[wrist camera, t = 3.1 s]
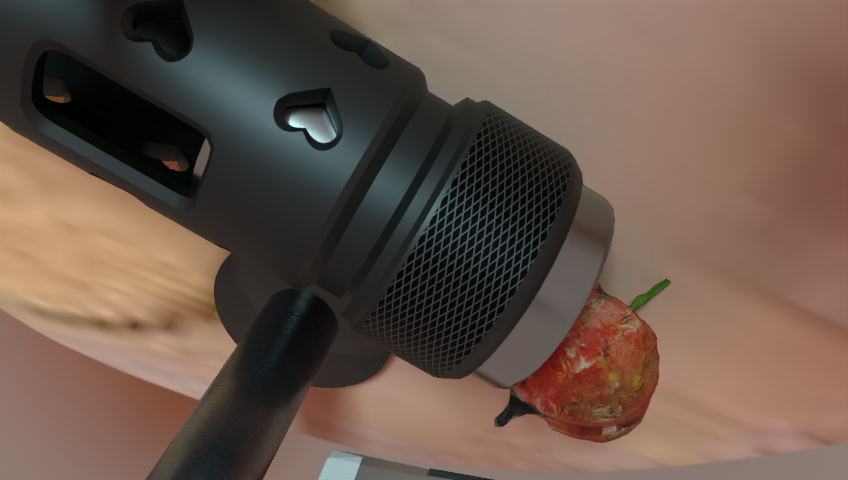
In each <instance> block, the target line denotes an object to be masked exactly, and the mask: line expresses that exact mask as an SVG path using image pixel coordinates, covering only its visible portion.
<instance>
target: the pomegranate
mask: <svg viewBox="0 0 848 480" xmlns="http://www.w3.org/2000/svg"><path fill="white" fill-rule="evenodd" d="M670 283H671V281H669V280H667V279H665V280H664V281H662V282H660V283H659V284H657V285H655V286H654V287H653V288H652V289H651V290H650V291H649V292H648V293H646V294H642V295H639V296H637V297H636V298H635V300H634V301H633V303H632V305H631V306H627V305H626V304H624V303H622V302H621V301H620V300H618V299H617V298H615V297H612V296H610V295H608V294H607V293H605V292H604V291H603V290H602V288H601V287H600V284H599V282H598V281H597V282H596V285H595V287H594V289H593V291H592V293H591V295H590V297H589V299H588V301H587V302H586V304H585V306H584V308H583V310H582V311H581V313H580V315H579V317H578V318H577V320H576V321H575V323H574V324H573V326H572V327H571V329H570V331H569V332H568V334H567V335H566V336H565V338H564V339H563V340H562V342H561V343H560V344H559V346H558V347H557V348H556V350H555V351H554V352H553V353H552V355H551V356H550V357H549V358H548V359H547V360H546V361H545V362H544V364H543V365H542V366H541V367H540V368H539V369H538V370H537V371H536V372H535V373H533V374H532V375H531V376H530V377H529V378H528V379H526V380H525V381H523V382H522V383H520V384H518V385H517V386H515V387H512V388H510V399H509V402H508V405H507V407H506V408H505V409H504V411H503V412H502V413H501V414H500V415H498V416H497V417H496V418H495V427H502V426H504V425H506V424H507V423H508V422H509V421H511V420H512V419H514V418H516V417H519V416H522V415H525V414H536V415H538V416H539V417H541V418H543V419H544V420H546V421H547V423H548V425H549V426H550V428H552V429H553V430H555V431H557V432H560V433H562V434H564V435H567V436H570V437H574V438H577V439H583V440H589V441H593V442H600V443H604V442H608V441H612V440H614V439H617V438H620V437H622V436H624V435H626V434H628V433H629V432H630V431H632V430H633V429H634V428H635V427H636V426H637V425H639V424H640V423H641V421H642V419H643V417H644V415H645V413H646V410H647V408H648V406H649V403H650V399H651V397H652V395H653V393H654V391H655V388H656V386H657V385H658V379H659V355H658V351H657V337H656V335H655V333H654V332H653V330H652V329H651V328H650V326H649V325H648V324H647V323H646V322H645V321H644V320H642V319H641V318H639V316H638V315H637V314H636V313H635V311H636V310H637V309H638V308H639V307H641V306H642V305H643V304H644V303H646V302H647V301H648V300H650V299H651V298H652V297H653V296H655V295H656V294H657V293H659V292H660V291H661V290H662V289H664V288H665V287H666V286H667V285H668V284H670Z"/></svg>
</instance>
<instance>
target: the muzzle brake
mask: <svg viewBox="0 0 848 480" xmlns="http://www.w3.org/2000/svg"><path fill="white" fill-rule="evenodd" d="M45 96H55V97H62V96H63V97H64V100H65V103H58V102H54V101H51V100H49V99H48V98H46V97H45ZM0 121H1V122H2V123H4V124H5V125H7V126H8V127H9V128H10V129H12V130H13V131H15V132H16V133H18V134H20V135H22V136H23V137H25V138H27V139H29V140H30V141H32V142H34V143H36V144H38V145H39V146H41V147H43V148H45V149H46V150H48V151H50V152H52V153H54V154H55V155H57V156H59V157H61V158H62V159H64V160H66V161H68V162H70V163H71V164H73V165H75V166H77V167H78V168H80V169H82V170H84V171H86V172H87V173H89V174H91V175H93V176H96V177H98V178H100V179H102V180H104V181H106V182H108V183H110V184H112V185H114V186H116V187H118V188H120V189H122V190H124V191H126V192H128V193H130V194H131V195H133V196H135V197H136V198H137V199H139V200H140V201H141V202H143V203H144V204H145V205H146V206H148V207H149V208H151V209H153V210H155V211H157V212H158V213H160V214H162V215H164V216H165V217H167V218H169V219H171V220H173V221H174V222H176V223H178V224H180V225H181V226H183V227H185V228H187V229H188V230H190V231H192V232H194V233H196V234H197V235H199V236H201V237H203V238H204V239H206V240H208V241H210V242H212V243H213V244H215V245H217V246H219V247H221V248H224V249H226V250H228V251H230V252H232V253H234V254H237V255H239V256H240V257H242V258H243V259H245V260H247V261H249V262H252V263H254V264H256V265H257V266H258V267H260V268H261V269H263V270H264V271H266V272H267V273H268V274H270V275H271V276H272V277H274V278H275V279H277V280H279V281H281V282H283V283H284V284H286V285H288V286H290V287H291V288H297V289H302V288H305V287H308V286H312V285H315V284H316V285H318V286H319V287H321V288H323V289H324V290H326V291H328V292H330V293H331V294H333V295H335V296H336V297H338V298H340V316H342V317H343V318H345V319H347V320H348V321H349V323H350V328H351V330H352V331H353V332H355V333H357V334H358V335H360V336H362V337H364V338H366V339H367V340H369V341H371V342H373V343H374V344H376V345H378V346H380V347H382V348H383V349H385V350H387V351H389V352H390V353H392V354H394V355H396V356H398V357H399V358H401V359H403V360H405V361H406V362H408V363H410V364H412V365H414V366H415V367H417V368H419V369H421V370H423V371H424V372H426V373H428V374H430V375H431V376H433V377H437V378H447V379H461V378H463V377H466V376H468V375H470V374H471V375H473V376H475V377H476V378H478V379H480V380H482V381H484V382H485V383H487V384H489V385H491V386H492V387H494V388H500V389H508V388H512V387H515V386H517V385H518V384H520V383H522V382H523V381H525V380H526V379H528V378H529V377H530V376H531V375H532V374H533V373H535V372H536V371H537V370H538V369H539V368H540V367H541V366H542V365H543V364H544V362H545V361H546V360H547V359H548V358H549V357H550V356H551V355H552V353H553V352H554V351H555V350H556V348H557V347H558V346H559V344H560V343H561V342H562V340H563V339H564V338H565V336H566V335H567V334H568V332H569V331H570V329H571V327H572V326H573V324H574V323H575V321H576V320H577V318H578V317H579V315H580V313H581V311H582V310H583V308H584V306H585V304H586V302H587V301H588V299H589V297H590V295H591V293H592V291H593V289H594V287H595V285H596V282H597V280H598V278H599V276H600V274H601V271H602V269H603V266H604V263H605V260H606V258H607V255H608V252H609V249H610V245H611V241H612V237H613V232H614V221H615V217H614V211H613V207H612V206H611V204H610V203H609V202H608V200H607V199H606V198H605V197H603V196H601V195H600V194H598V193H597V192H595V191H593V190H592V189H590V188H588V187H587V186H585V185H583V179H582V173H581V171H580V168H579V166H578V164H577V162H576V160H575V158H574V157H573V155H572V154H571V153H570V152H569V150H567V149H566V148H564V147H563V146H561V145H559V144H558V143H556V142H554V141H553V140H551V139H550V138H548V137H546V136H545V135H543V134H541V133H540V132H538V131H537V130H535V129H533V128H532V127H530V126H528V125H527V124H525V123H523V122H522V121H520V120H519V119H517V118H515V117H514V116H512V115H510V114H509V113H507V112H506V111H504V110H502V109H501V108H499V107H497V106H496V105H494V104H493V103H491V102H489V101H487V100H484V101H481V102H478V103H477V102H475V101H473V100H471V99H470V98H468V97H467V98H465V99H463V100H462V101H460V102H459V103H457V104H455V105H454V106H452V105H450V104H449V103H447V102H445V101H444V100H442V99H440V98H439V97H437V96H435V95H434V94H432V93H430V92H429V91H428V88H427V84H426V79H425V75H424V74H423V72H422V71H421V70H420V68H418V67H416V66H415V65H413V64H411V63H410V62H408V61H406V60H404V59H403V58H401V57H400V56H398V55H396V54H395V53H393V52H391V51H390V50H388V49H386V48H385V47H383V46H382V45H380V44H378V43H377V42H375V41H373V40H372V39H370V38H368V37H367V36H365V35H364V34H362V33H360V32H359V31H357V30H355V29H354V28H352V27H351V26H349V25H347V24H346V23H344V22H342V21H341V20H339V19H337V18H336V17H334V16H333V15H331V14H329V13H328V12H326V11H324V10H323V9H321V8H319V7H318V6H316V5H315V4H313V3H311V2H310V1H308V0H0ZM162 161H177V162H178V165H179V168H180V171H175V170H172V169H170V168H168V167H167V166H166V165H165V164H164V163H163V162H162Z"/></svg>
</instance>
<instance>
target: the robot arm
mask: <svg viewBox="0 0 848 480" xmlns="http://www.w3.org/2000/svg"><path fill="white" fill-rule="evenodd" d="M318 480H493V479H487V478H481V477H475V476H470V475H464V474H459V473H453V472H447V471H442V470H435V469H424V468H420V467H415V466H410V465H405V464H401V463H396V462H391V461H386V460H382V459H377V458H373V457H368V456H364V455H359V454H354V453H349V452H344V451H338V450H333V451H332V453H331V454H330V455H329V456H328V458H327V459H326V461H325V464H324V466H323V468H322V471H321V473H320V475H319V478H318Z"/></svg>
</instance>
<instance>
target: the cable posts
mask: <svg viewBox="0 0 848 480" xmlns="http://www.w3.org/2000/svg"><path fill="white" fill-rule="evenodd" d="M214 298H215V305H216V308H217V312H218V315H219V317H220V319H221V322H222V324H223V325H224V327H225V329H226V331H227V332H228V334H229V335H230V336H231V338H232V339H233V340H234V342H235V343H236V344H237V347H236V348H235V350H234V351H233V353H232V354H231V356H230V357H229V359H228V360H227V361H226V363H225V364H224V366H223V367H222V369H221V370H220V372H219V373H218V375H217V376H216V377H215V379H214V380H213V382H212V383H211V385H210V386H209V388H208V389H207V391H206V392H205V393H204V395H203V396H202V398H201V399H200V401H199V402H198V404H197V405H196V407H195V408H194V409H193V411H192V412H191V414H190V415H189V417H188V418H187V420H186V421H185V423H184V424H183V426H182V427H181V428H180V430H179V431H178V433H177V434H176V436H175V437H174V439H173V440H172V442H171V443H170V445H169V446H168V448H167V449H166V450H165V452H164V453H163V455H162V456H161V458H160V459H159V460H158V462H157V463H156V465H155V466H154V468H153V469H152V471H151V472H150V474H149V475H148V476H147V478H146V479H145V480H263V478H264V476H265V474H266V472H267V470H268V468H269V466H270V464H271V462H272V460H273V458H274V456H275V454H276V452H277V451H278V449H279V446H280V445H281V442H282V441H283V439H284V437H285V435H286V433H287V431H288V429H289V427H290V425H291V423H292V421H293V419H294V417H295V415H296V413H297V411H298V409H299V408H300V406H301V404H302V402H303V400H304V398H305V396H306V394H307V392H308V390H309V388H310V386H315V387H323V388H337V387H345V386H351V385H354V384H357V383H360V382H363V381H365V380H367V379H369V378H370V377H372V376H373V375H374V374H376V373H377V372H378V371H379V370H380V369H381V368H382V367H383V366H384V364H385V363H386V361H387V360H388V358H389V355H390V352H389V351H387V350H385V349H383V348H382V347H380V346H378V345H376V344H374V343H373V342H371V341H369V340H367V339H366V338H364V337H362V336H360V335H358V334H357V333H355V332H353V331H352V330H351V328H350V323H349V321H348V320H347V319H345V318H343V317H342V316H340V298H338V297H336V296H335V295H333V294H331V293H330V292H328V291H326V290H324V289H323V288H321V287H319V286H318V285H316V284H315V285H312V286H308V287H305V288H302V289H297V288H291V287H290V286H288V285H286V284H284V283H283V282H281V281H279V280H277V279H275V278H274V277H272V276H271V275H270V274H268V273H267V272H266V271H264V270H263V269H261V268H260V267H258V266H257V265H256V264H254V263H252V262H249V261H247V260H245V259H243V258H242V257H240V256H239V255H237V254H234V253H232V252H231V254H230V255H229V256H228V257H227V258H226V259H225V261H224V262H223V263H222V265H221V267H220V268H219V270H218V273H217V276H216V279H215V284H214Z"/></svg>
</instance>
